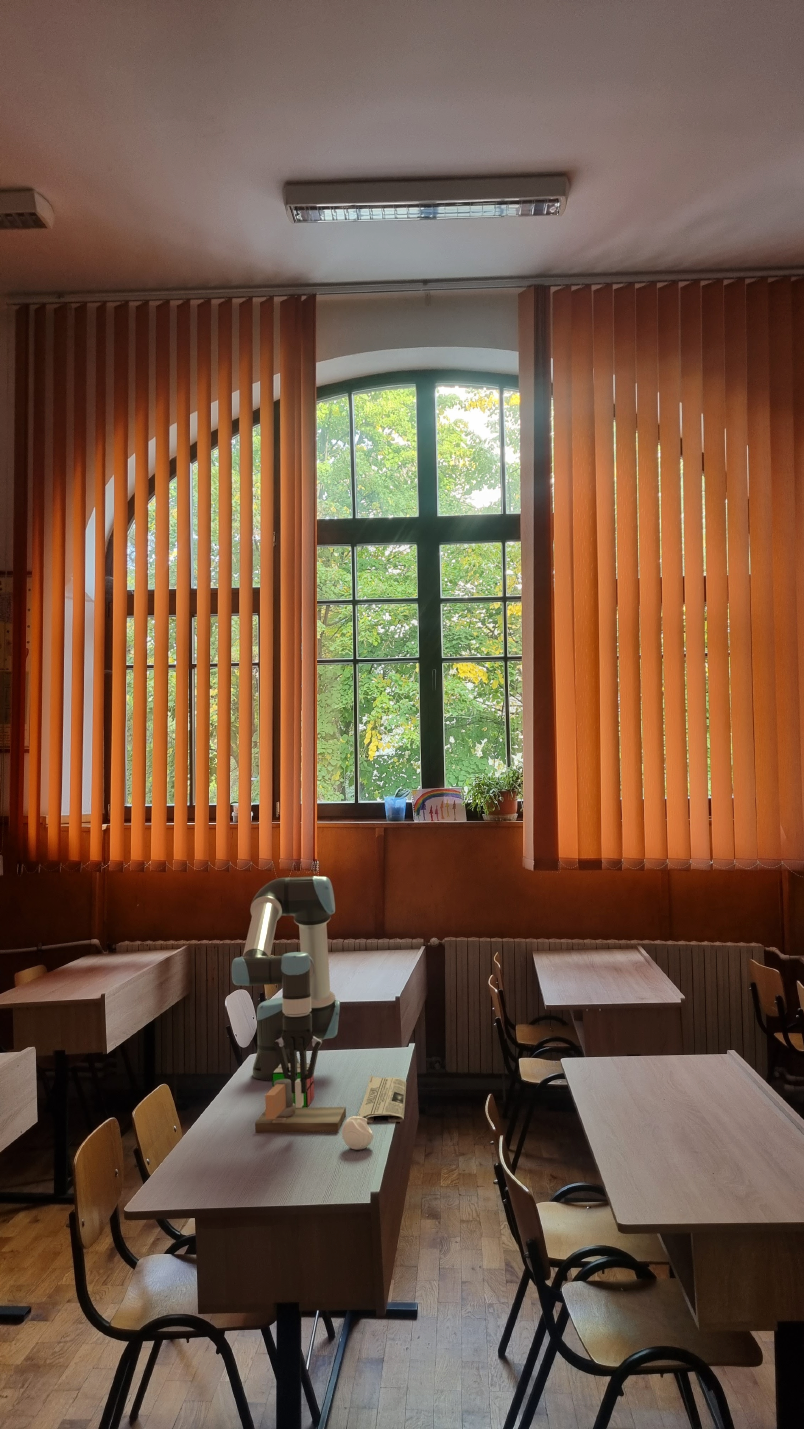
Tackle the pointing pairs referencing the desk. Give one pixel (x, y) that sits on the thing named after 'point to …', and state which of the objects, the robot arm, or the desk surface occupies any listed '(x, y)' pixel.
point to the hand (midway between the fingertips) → (299, 1105)
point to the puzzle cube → (310, 1084)
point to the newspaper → (384, 1099)
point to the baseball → (357, 1133)
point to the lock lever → (278, 1098)
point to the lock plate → (303, 1120)
